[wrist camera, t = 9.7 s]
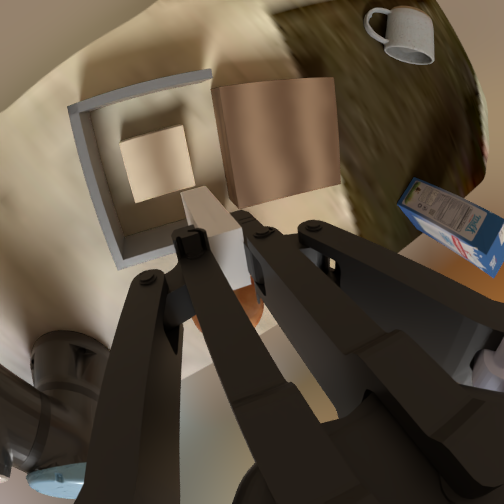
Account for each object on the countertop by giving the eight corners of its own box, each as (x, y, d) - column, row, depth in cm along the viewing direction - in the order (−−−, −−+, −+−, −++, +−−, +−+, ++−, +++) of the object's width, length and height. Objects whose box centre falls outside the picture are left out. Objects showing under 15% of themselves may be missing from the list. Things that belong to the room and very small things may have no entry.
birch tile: (135, 195, 34) (135, 203, 31) (120, 140, 30) (119, 143, 28) (191, 179, 35) (195, 185, 33) (179, 123, 32) (182, 125, 29)
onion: (223, 320, 47) (244, 365, 38) (169, 295, 41) (181, 344, 33) (262, 273, 45) (292, 313, 37) (209, 241, 40) (231, 282, 31)
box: (119, 246, 35) (117, 270, 30) (79, 106, 26) (67, 106, 21) (224, 215, 39) (238, 233, 34) (199, 74, 29) (211, 68, 24)
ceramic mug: (409, 24, 33) (444, 21, 27) (407, 65, 37) (443, 66, 30) (361, -2, 30) (397, -11, 23) (358, 43, 33) (395, 38, 27)
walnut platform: (229, 199, 38) (239, 209, 34) (210, 89, 31) (219, 87, 27) (324, 176, 41) (340, 183, 38) (316, 78, 34) (333, 77, 31)
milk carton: (396, 203, 49) (486, 254, 32) (413, 176, 47) (505, 219, 31) (417, 229, 54) (494, 278, 37) (432, 204, 53) (510, 248, 36)
